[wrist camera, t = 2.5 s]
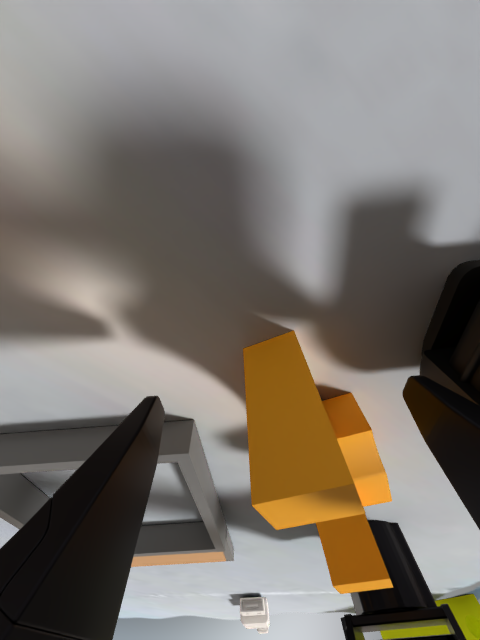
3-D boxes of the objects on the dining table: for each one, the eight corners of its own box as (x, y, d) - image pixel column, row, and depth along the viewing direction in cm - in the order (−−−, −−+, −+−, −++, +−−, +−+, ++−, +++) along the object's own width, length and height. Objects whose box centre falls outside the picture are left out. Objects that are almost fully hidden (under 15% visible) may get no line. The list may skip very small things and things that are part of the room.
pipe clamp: (365, 446, 16) (431, 582, 11) (306, 461, 17) (340, 593, 12) (329, 315, 10) (435, 465, 5) (243, 346, 11) (251, 504, 6)
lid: (226, 526, 23) (226, 541, 22) (233, 548, 27) (233, 562, 26) (85, 534, 24) (78, 550, 23) (111, 556, 27) (107, 569, 26)
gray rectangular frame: (194, 419, 14) (188, 453, 12) (226, 523, 23) (225, 551, 21) (-38, 436, 14) (-74, 471, 13) (82, 532, 23) (70, 560, 22)
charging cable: (253, 618, 57) (254, 640, 54) (237, 591, 41) (237, 620, 38) (272, 617, 56) (274, 639, 54) (264, 589, 40) (266, 618, 38)
